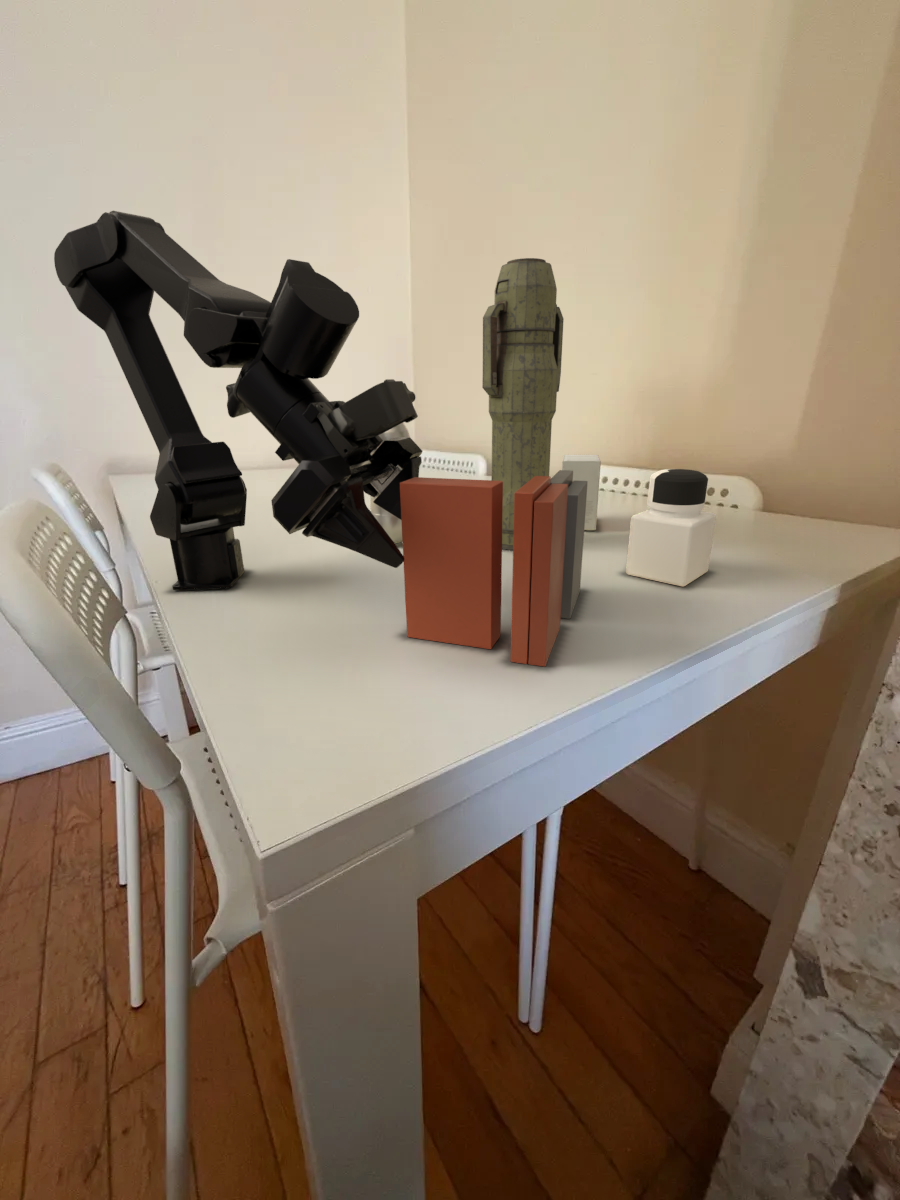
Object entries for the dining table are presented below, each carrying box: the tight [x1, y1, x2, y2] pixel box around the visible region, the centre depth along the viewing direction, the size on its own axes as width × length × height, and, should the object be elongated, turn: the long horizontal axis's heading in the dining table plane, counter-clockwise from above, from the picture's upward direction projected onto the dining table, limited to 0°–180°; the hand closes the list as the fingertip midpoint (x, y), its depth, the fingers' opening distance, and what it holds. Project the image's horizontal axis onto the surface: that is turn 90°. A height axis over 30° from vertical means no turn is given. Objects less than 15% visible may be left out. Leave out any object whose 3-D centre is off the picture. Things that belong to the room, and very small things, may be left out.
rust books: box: [510, 475, 568, 667], centre depth 47 cm, size 3×8×14 cm, turn 161°
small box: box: [561, 454, 602, 531], centre depth 88 cm, size 8×6×10 cm
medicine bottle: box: [625, 468, 717, 587], centre depth 65 cm, size 7×7×12 cm
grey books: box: [550, 469, 588, 620], centre depth 57 cm, size 3×8×13 cm, turn 161°
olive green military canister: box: [482, 257, 565, 551], centre depth 75 cm, size 9×12×35 cm
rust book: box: [400, 476, 503, 650], centre depth 49 cm, size 8×3×14 cm, turn 69°
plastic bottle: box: [369, 422, 411, 544], centre depth 79 cm, size 6×7×20 cm
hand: (421, 548), depth 50 cm, fingers open, 9 cm apart
